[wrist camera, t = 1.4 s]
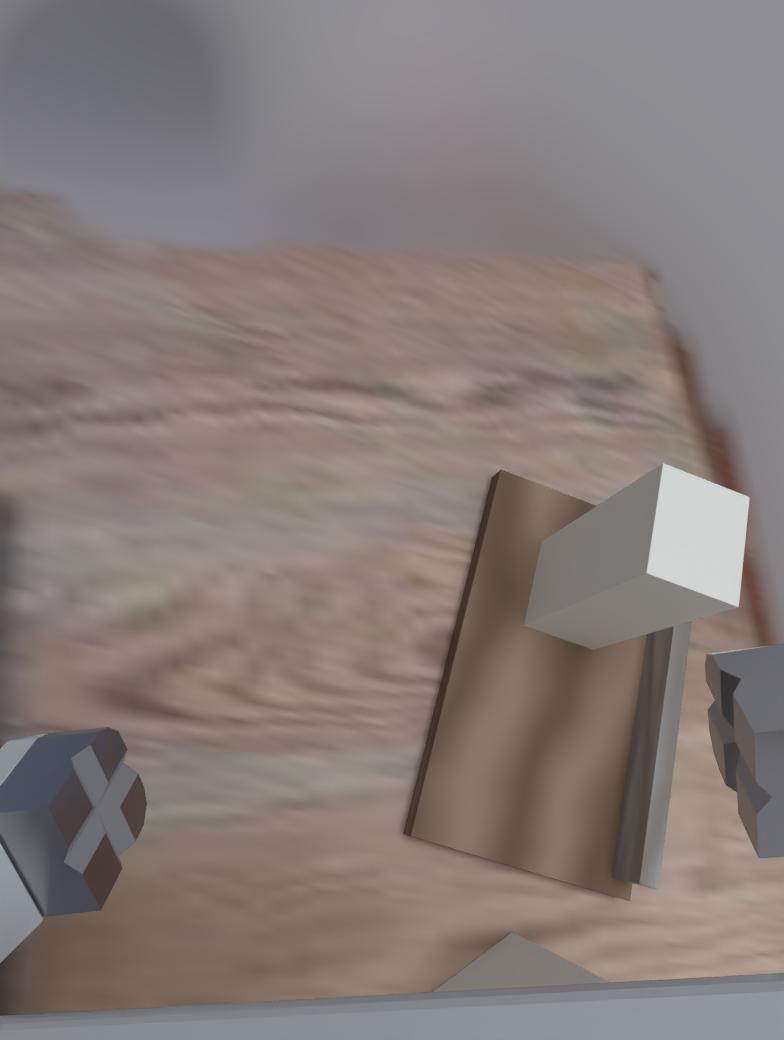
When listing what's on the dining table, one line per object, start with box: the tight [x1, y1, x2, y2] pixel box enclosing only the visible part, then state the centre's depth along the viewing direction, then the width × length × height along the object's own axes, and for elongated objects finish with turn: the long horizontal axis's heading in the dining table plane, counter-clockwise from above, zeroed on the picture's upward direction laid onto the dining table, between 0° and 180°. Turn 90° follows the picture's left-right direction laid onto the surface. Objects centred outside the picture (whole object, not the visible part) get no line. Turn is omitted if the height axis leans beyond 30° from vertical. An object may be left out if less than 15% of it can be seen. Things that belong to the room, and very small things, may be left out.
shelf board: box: [404, 470, 692, 901], centre depth 47 cm, size 14×24×4 cm, turn 164°
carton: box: [524, 463, 749, 650], centre depth 43 cm, size 5×6×14 cm
